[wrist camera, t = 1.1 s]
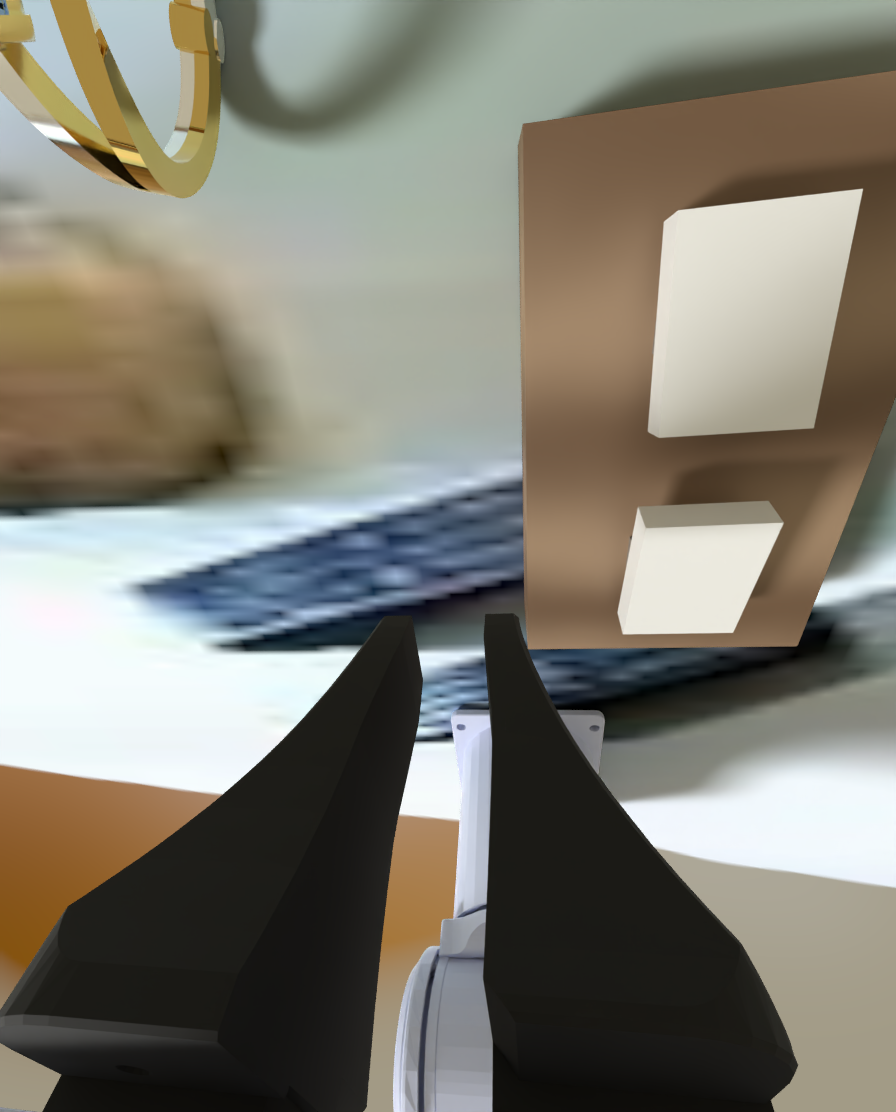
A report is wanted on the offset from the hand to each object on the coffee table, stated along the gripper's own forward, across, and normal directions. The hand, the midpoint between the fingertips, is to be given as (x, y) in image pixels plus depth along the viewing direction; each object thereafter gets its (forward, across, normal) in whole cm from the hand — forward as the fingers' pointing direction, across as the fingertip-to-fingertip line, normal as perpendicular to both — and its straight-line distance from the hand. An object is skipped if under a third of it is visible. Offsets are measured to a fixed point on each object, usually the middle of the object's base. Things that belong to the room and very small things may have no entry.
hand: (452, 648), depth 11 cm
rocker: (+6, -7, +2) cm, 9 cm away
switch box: (+9, -7, -2) cm, 12 cm away
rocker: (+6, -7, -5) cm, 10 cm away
